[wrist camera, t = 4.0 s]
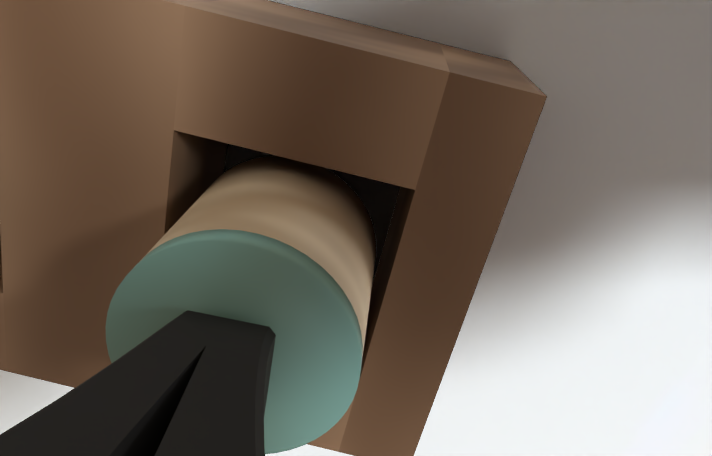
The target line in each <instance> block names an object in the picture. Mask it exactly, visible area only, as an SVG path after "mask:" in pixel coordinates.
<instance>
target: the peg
mask: <svg viewBox="0 0 712 456" xmlns="http://www.w3.org/2000/svg"><path fill="white" fill-rule="evenodd" d="M375 259H376V235H375V230H374V226H373V222H372V220H371V217H370V215H369V212H368V210H367V209H366V207H365V205H364V203H363V201H362V200H361V199H360V197H359V196H358V195H357V193H356V192H355V191H354V190H353V189H352V188H351V187H350V186H349V185H348V184H347V183H346V182H345V181H344V180H342V179H341V178H340V177H339V176H337V175H336V174H334V173H333V172H331V171H329V170H328V169H326V168H324V167H320V166H316V165H312V164H308V163H304V162H300V161H296V160H292V159H288V158H284V157H280V156H267V157H260V158H255V159H251V160H248V161H245V162H242V163H240V164H238V165H236V166H234V167H232V168H230V169H229V170H227V171H226V172H225V173H223V174H222V175H221V176H220V177H219V178H217V179H216V180H215V181H214V182H213V183H212V184H211V186H210V187H209V188H208V189H207V190H206V191H205V192H204V193H203V194H202V195H201V196H200V197H199V198H198V199H197V201H196V202H195V203H194V204H193V205H192V206H191V207H190V208H189V209H188V210H187V211H186V212H185V213H184V214H183V216H182V217H181V218H180V219H179V220H178V221H177V222H176V223H175V224H174V225H173V226H172V227H171V228H170V229H169V231H168V232H167V233H166V234H165V235H164V236H163V237H162V238H161V239H160V240H159V241H158V242H157V243H156V244H155V246H154V247H153V248H152V249H151V250H150V251H149V252H148V253H147V254H146V255H145V256H144V257H143V258H142V259H141V261H140V262H139V263H138V264H137V265H136V266H135V267H134V268H133V269H132V270H131V271H130V272H129V273H128V274H127V276H126V277H125V278H124V279H123V281H122V282H121V284H120V285H119V286H118V288H117V290H116V292H115V294H114V296H113V298H112V300H111V302H110V306H109V309H108V312H107V319H106V327H105V328H106V344H107V349H108V354H109V357H110V360H111V363H113V362H114V361H116V360H117V359H119V358H120V357H121V356H123V355H124V354H126V353H127V352H128V351H130V350H131V349H133V348H134V347H136V346H137V345H138V344H140V343H141V342H143V341H144V340H145V339H147V338H148V337H149V336H151V335H152V334H154V333H155V332H156V331H158V330H159V329H161V328H162V327H163V326H165V325H166V324H168V323H169V322H170V321H172V320H173V319H175V318H176V317H178V316H179V315H181V314H182V313H184V312H185V311H187V310H189V311H194V312H199V313H204V314H209V315H214V316H219V317H224V318H229V319H234V320H239V321H244V322H249V323H254V324H259V325H263V326H268V327H270V328H271V329H272V331H273V332H274V333H275V335H276V338H275V345H274V352H273V359H272V366H271V373H270V380H269V387H268V394H267V401H266V408H265V415H264V448H265V454H270V453H278V452H282V451H287V450H291V449H294V448H297V447H300V446H303V445H305V444H307V443H309V442H311V441H313V440H315V439H317V438H318V437H320V436H321V435H323V434H324V433H326V432H327V431H329V430H330V429H331V428H332V427H333V426H334V425H335V424H336V423H337V422H338V421H339V420H340V419H341V418H342V416H343V415H344V414H345V413H346V411H347V410H348V408H349V406H350V404H351V403H352V401H353V399H354V396H355V393H356V391H357V388H358V383H359V378H360V372H361V365H362V357H363V350H364V342H365V335H366V327H367V319H368V312H369V304H370V297H371V289H372V282H373V274H374V267H375Z"/></svg>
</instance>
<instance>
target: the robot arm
mask: <svg viewBox="0 0 712 456" xmlns="http://www.w3.org/2000/svg"><path fill="white" fill-rule="evenodd" d="M275 338H276V335H275V333H274V332H273V331H272V329H271V328H270V327H268V326H263V325H259V324H254V323H249V322H244V321H239V320H234V319H229V318H224V317H219V316H214V315H209V314H204V313H199V312H194V311H189V310H187V311H185V312H184V313H182V314H181V315H179V316H178V317H176V318H175V319H173V320H172V321H170V322H169V323H168V324H166V325H165V326H163V327H162V328H161V329H159V330H158V331H156V332H155V333H154V334H152V335H151V336H149V337H148V338H147V339H145V340H144V341H143V342H141V343H140V344H138V345H137V346H136V347H134V348H133V349H131V350H130V351H128V352H127V353H126V354H124V355H123V356H121V357H120V358H119V359H117V360H116V361H114V362H113V363H111V364H110V365H108V366H107V367H105V368H104V369H102V370H101V371H99V372H98V373H97V374H95V375H94V376H92V377H91V378H89V379H88V380H86V381H85V382H83V383H82V384H80V385H79V386H77V387H76V388H74V389H73V390H71V391H70V392H68V393H67V394H65V395H64V396H62V397H61V398H59V399H58V400H56V401H54V402H53V403H51V404H50V405H48V406H46V407H45V408H43V409H41V410H40V411H38V412H37V413H35V414H33V415H32V416H30V417H28V418H27V419H25V420H24V421H22V422H20V423H19V424H17V425H15V426H14V427H12V428H10V429H9V430H7V431H6V432H4V433H2V434H1V435H0V456H265V448H264V415H265V408H266V401H267V394H268V387H269V380H270V373H271V366H272V359H273V352H274V345H275Z"/></svg>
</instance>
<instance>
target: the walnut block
mask: <svg viewBox="0 0 712 456" xmlns="http://www.w3.org/2000/svg"><path fill="white" fill-rule="evenodd" d="M546 98H547V96H546V95H545V94H544V93H543V92H542V91H541V90H540V89H539V88H538V87H537V86H536V85H535V84H534V83H533V82H532V81H531V80H529V79H528V78H527V77H526V76H525V75H524V74H523V73H522V72H521V71H520V70H519V69H518V68H517V67H516V66H515V65H514V64H513V63H512V62H511V61H507V60H503V59H499V58H495V57H491V56H487V55H483V54H479V53H475V52H471V51H467V50H463V49H459V48H456V47H452V46H448V45H444V44H440V43H436V42H432V41H428V40H424V39H420V38H416V37H412V36H408V35H404V34H400V33H396V32H392V31H388V30H384V29H380V28H376V27H372V26H368V25H364V24H360V23H356V22H352V21H348V20H344V19H340V18H336V17H332V16H328V15H324V14H320V13H316V12H312V11H308V10H304V9H300V8H296V7H292V6H288V5H284V4H280V3H276V2H272V1H268V0H0V370H4V371H8V372H12V373H16V374H21V375H25V376H29V377H33V378H37V379H41V380H45V381H49V382H53V383H58V384H62V385H66V386H70V387H74V388H76V387H77V386H79V385H80V384H82V383H83V382H85V381H86V380H88V379H89V378H91V377H92V376H94V375H95V374H97V373H98V372H99V371H101V370H102V369H104V368H105V367H107V366H108V365H110V364H111V360H110V357H109V354H108V349H107V344H106V328H105V327H106V319H107V312H108V309H109V306H110V302H111V300H112V298H113V296H114V294H115V292H116V290H117V288H118V286H119V285H120V284H121V282H122V281H123V279H124V278H125V277H126V276H127V274H128V273H129V272H130V271H131V270H132V269H133V268H134V267H135V266H136V265H137V264H138V263H139V262H140V261H141V259H142V258H143V257H144V256H145V255H146V254H147V253H148V252H149V251H150V250H151V249H152V248H153V247H154V246H155V244H156V243H157V242H158V241H159V240H160V239H161V238H162V237H163V236H164V235H165V234H166V233H167V232H168V231H169V229H170V228H171V227H172V226H173V225H174V224H175V223H176V222H177V221H178V220H179V219H180V218H181V217H182V216H183V214H184V213H185V212H186V211H187V210H188V209H189V208H190V207H191V206H192V205H193V204H194V203H195V202H196V201H197V199H198V198H199V197H200V196H201V195H202V194H203V193H204V192H205V191H206V190H207V189H208V188H209V187H210V186H211V184H212V183H213V182H214V181H215V180H216V179H217V178H219V177H220V176H221V175H222V174H223V173H224V167H225V159H226V152H227V145H228V144H232V145H236V146H240V147H244V148H248V149H252V150H256V151H260V152H264V153H268V154H272V155H276V156H280V157H284V158H288V159H292V160H296V161H300V162H304V163H308V164H312V165H316V166H320V167H324V168H328V169H333V170H337V171H341V172H345V173H349V174H353V175H357V176H361V177H365V178H369V179H373V180H377V181H381V182H385V183H389V184H393V185H397V186H400V189H399V192H398V196H397V199H396V203H395V207H394V210H393V214H392V217H391V221H390V224H389V228H388V232H387V235H386V239H385V242H384V246H383V249H382V253H381V257H380V260H379V264H378V267H377V271H376V274H375V278H374V282H373V285H372V289H371V297H370V304H369V312H368V319H367V327H366V335H365V342H364V350H363V357H362V365H361V372H360V378H359V383H358V388H357V391H356V393H355V396H354V399H353V401H352V403H351V404H350V406H349V408H348V410H347V411H346V413H345V414H344V415H343V416H342V418H341V419H340V420H339V421H338V422H337V423H336V424H335V425H334V426H333V427H332V428H331V429H330V430H329V431H327V432H326V433H324V434H323V435H321V436H320V437H318V438H317V439H315V440H313V441H311V442H309V443H307V444H309V445H313V446H317V447H321V448H325V449H330V450H334V451H338V452H342V453H346V454H350V455H354V456H414V453H415V450H416V447H417V445H418V442H419V439H420V437H421V434H422V431H423V429H424V426H425V423H426V421H427V418H428V415H429V412H430V410H431V407H432V404H433V402H434V399H435V396H436V394H437V391H438V388H439V386H440V383H441V380H442V378H443V375H444V372H445V369H446V367H447V364H448V361H449V359H450V356H451V353H452V351H453V348H454V345H455V343H456V340H457V337H458V334H459V332H460V329H461V326H462V324H463V321H464V318H465V316H466V313H467V310H468V308H469V305H470V302H471V300H472V297H473V294H474V291H475V289H476V286H477V283H478V281H479V278H480V275H481V273H482V270H483V267H484V265H485V262H486V259H487V256H488V254H489V251H490V248H491V246H492V243H493V240H494V238H495V235H496V232H497V230H498V227H499V224H500V222H501V219H502V216H503V213H504V211H505V208H506V205H507V203H508V200H509V197H510V195H511V192H512V189H513V187H514V184H515V181H516V178H517V176H518V173H519V170H520V168H521V165H522V162H523V160H524V157H525V154H526V152H527V149H528V146H529V143H530V141H531V138H532V135H533V133H534V130H535V127H536V125H537V122H538V119H539V117H540V114H541V111H542V109H543V106H544V103H545V100H546Z"/></svg>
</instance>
